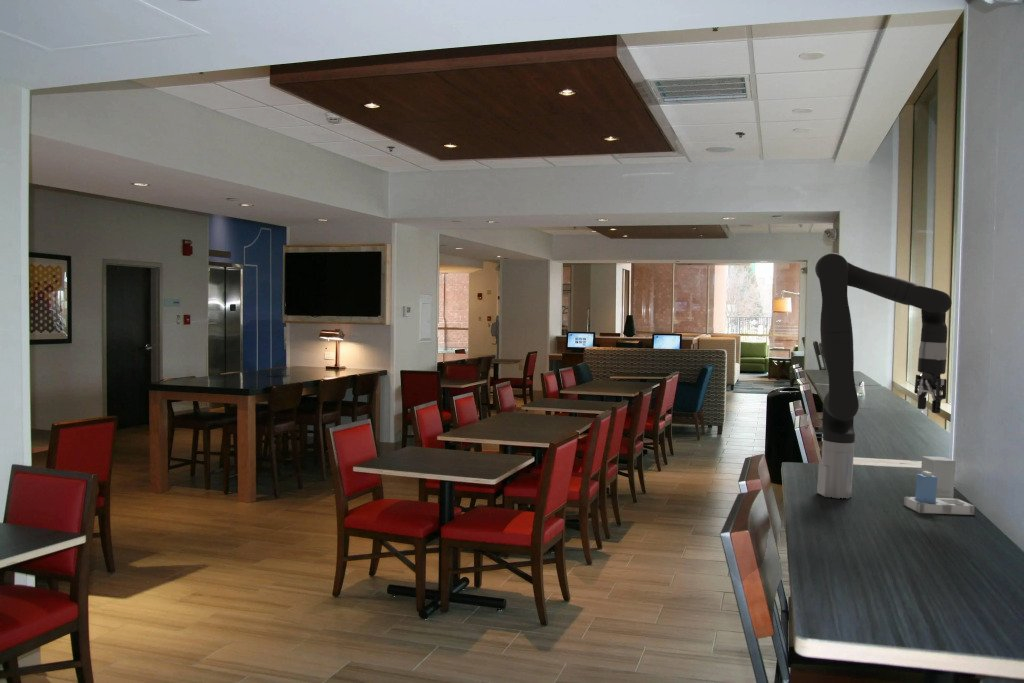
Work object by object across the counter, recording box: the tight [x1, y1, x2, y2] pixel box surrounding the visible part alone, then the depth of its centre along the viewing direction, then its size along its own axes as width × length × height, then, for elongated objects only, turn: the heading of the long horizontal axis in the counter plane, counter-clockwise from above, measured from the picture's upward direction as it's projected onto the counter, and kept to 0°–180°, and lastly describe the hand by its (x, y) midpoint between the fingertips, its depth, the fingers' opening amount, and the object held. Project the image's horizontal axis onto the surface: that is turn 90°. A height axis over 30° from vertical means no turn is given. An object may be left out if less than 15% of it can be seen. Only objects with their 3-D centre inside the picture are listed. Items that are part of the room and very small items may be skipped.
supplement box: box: [920, 455, 957, 498], centre depth 265 cm, size 7×7×13 cm
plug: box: [914, 471, 937, 503], centre depth 246 cm, size 4×4×11 cm
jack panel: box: [903, 496, 975, 516], centre depth 247 cm, size 16×9×3 cm, turn 91°
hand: (928, 410), depth 253 cm, fingers open, 8 cm apart
